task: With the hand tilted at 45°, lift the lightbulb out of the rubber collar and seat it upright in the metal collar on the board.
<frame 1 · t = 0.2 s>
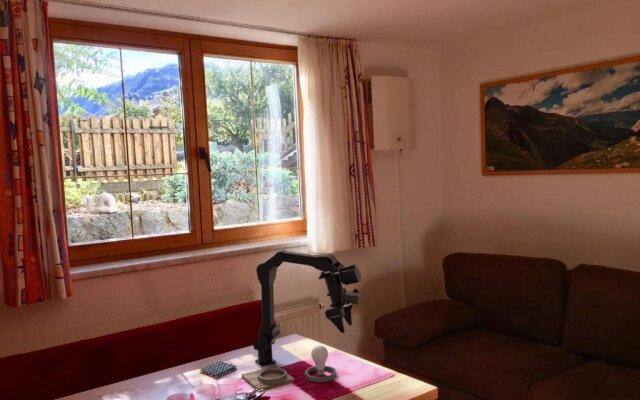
hand: (347, 329, 182), 16 cm above the table, tool pointing down, fingers open, 9 cm apart
woven mat: (218, 372, 188), on the table
socket board: (267, 379, 178), on the table
lightbulb: (320, 376, 180), resting in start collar
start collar: (320, 375, 180), on the table
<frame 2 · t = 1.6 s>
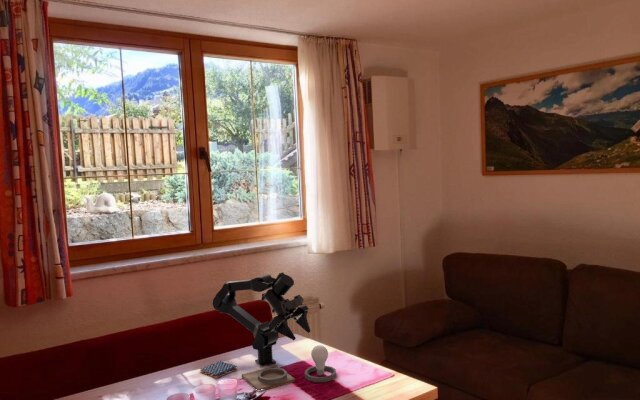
hand: (302, 335, 183), 13 cm above the table, tool tilted 45°, fingers open, 9 cm apart
nothing on the table moved.
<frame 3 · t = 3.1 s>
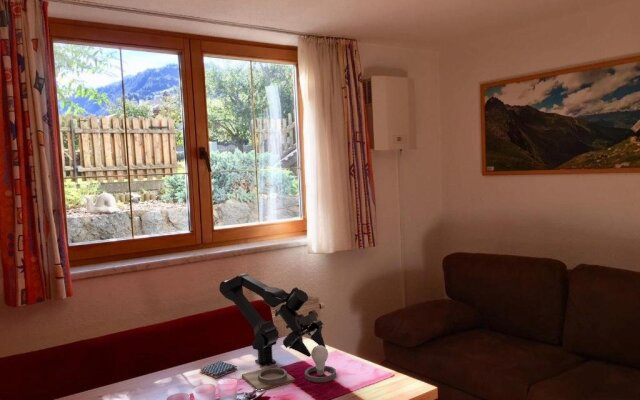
hand: (317, 352, 180), 9 cm above the table, tool tilted 45°, fingers open, 9 cm apart
nothing on the table moved.
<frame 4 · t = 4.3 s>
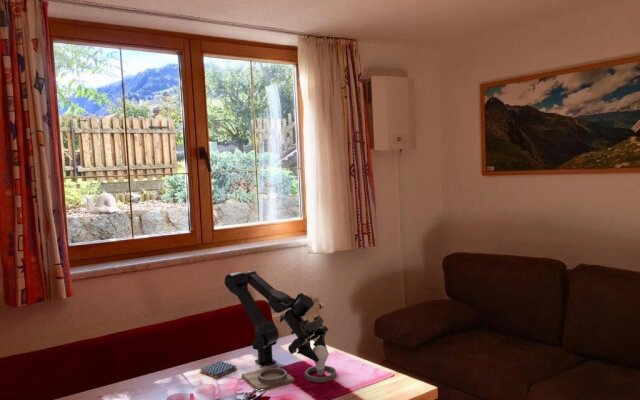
hand: (323, 358, 178), 7 cm above the table, tool tilted 45°, fingers closed on lightbulb, 6 cm apart
lightbulb: (320, 376, 180), resting in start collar, touching gripper
everything else where it was.
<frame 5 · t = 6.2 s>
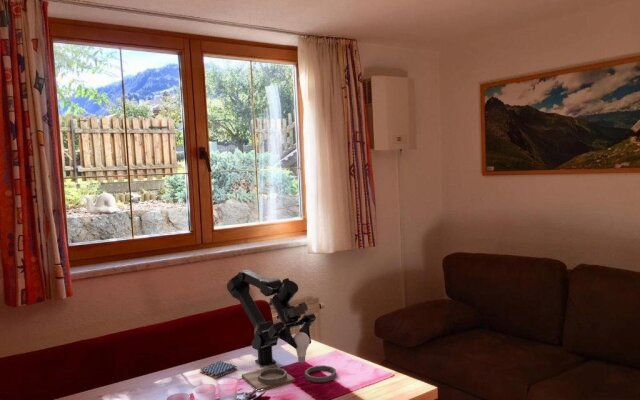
hand: (303, 345, 175), 12 cm above the table, tool tilted 45°, fingers closed on lightbulb, 6 cm apart
lightbulb: (301, 363, 177), point 6 cm above the table, touching gripper
everything else where it was.
when the fingers open (9 cm above the table, at t = 8.2 s): lightbulb drops 1 cm, resting on socket board.
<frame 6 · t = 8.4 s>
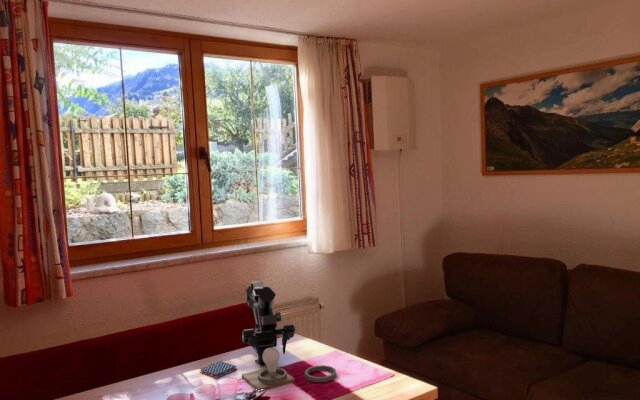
hand: (272, 355, 175), 10 cm above the table, tool tilted 45°, fingers open, 8 cm apart
lightbulb: (272, 377, 177), point 1 cm above the table, touching socket board
everything else where it was.
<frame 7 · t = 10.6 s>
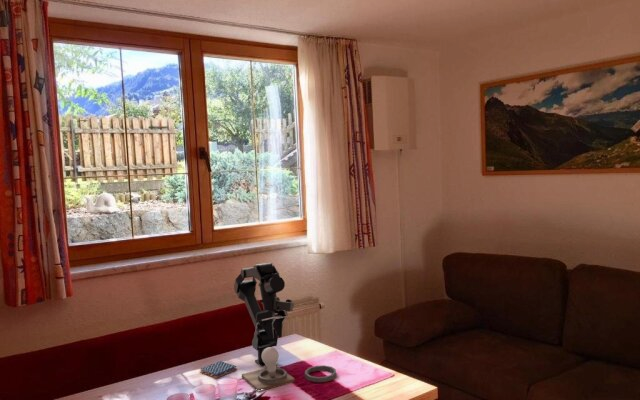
hand: (276, 338, 183), 13 cm above the table, tool tilted 20°, fingers open, 9 cm apart
nothing on the table moved.
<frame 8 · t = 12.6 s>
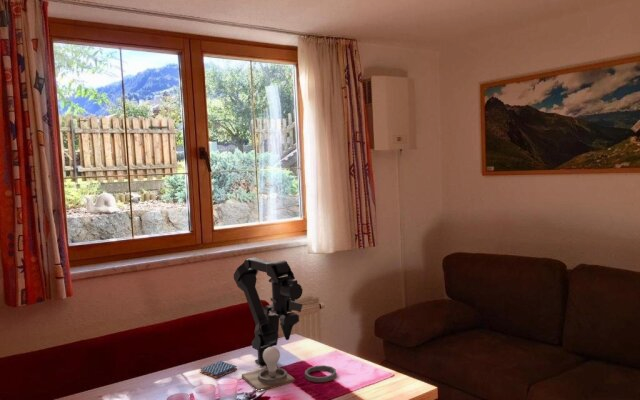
hand: (281, 336, 185), 13 cm above the table, tool pointing down, fingers open, 9 cm apart
nothing on the table moved.
at the end: lightbulb 0.0 cm from the target spot on the socket board, point 0.8 cm above the socket board's base; lightbulb tilted 1°; the gripper is holding nothing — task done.
